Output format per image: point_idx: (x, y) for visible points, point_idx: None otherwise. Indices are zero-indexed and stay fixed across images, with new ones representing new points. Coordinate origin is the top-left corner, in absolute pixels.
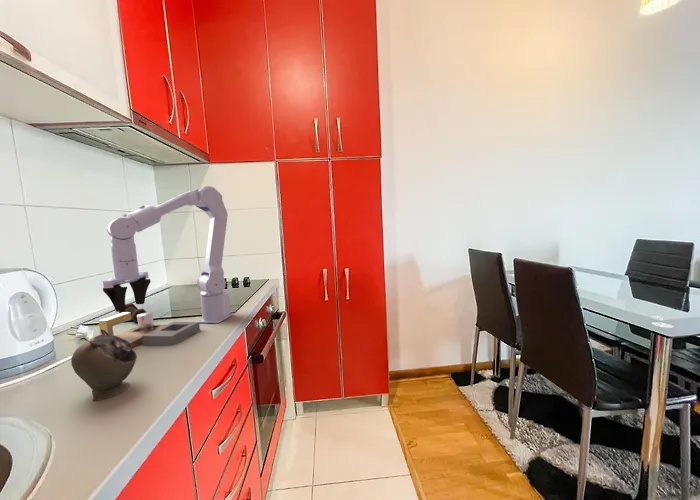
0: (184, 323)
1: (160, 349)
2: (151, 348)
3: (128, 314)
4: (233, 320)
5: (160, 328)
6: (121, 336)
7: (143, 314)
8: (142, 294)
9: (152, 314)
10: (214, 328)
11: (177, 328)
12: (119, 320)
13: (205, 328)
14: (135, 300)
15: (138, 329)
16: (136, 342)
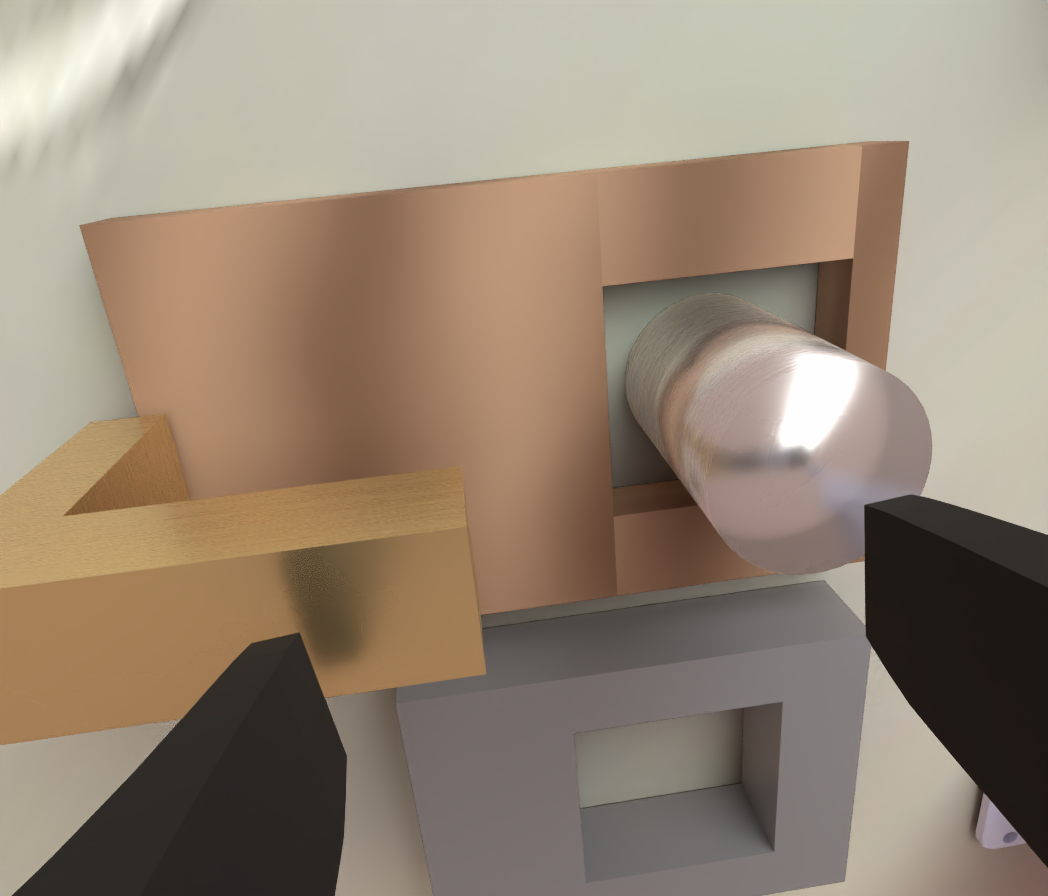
0: (806, 790)
1: (349, 856)
2: (346, 778)
3: (434, 664)
4: (1045, 884)
5: (639, 688)
6: (418, 339)
7: (812, 458)
8: (1038, 826)
9: (856, 544)
10: (843, 884)
11: (761, 707)
12: None
13: None
14: (922, 541)
15: (721, 268)
16: None
